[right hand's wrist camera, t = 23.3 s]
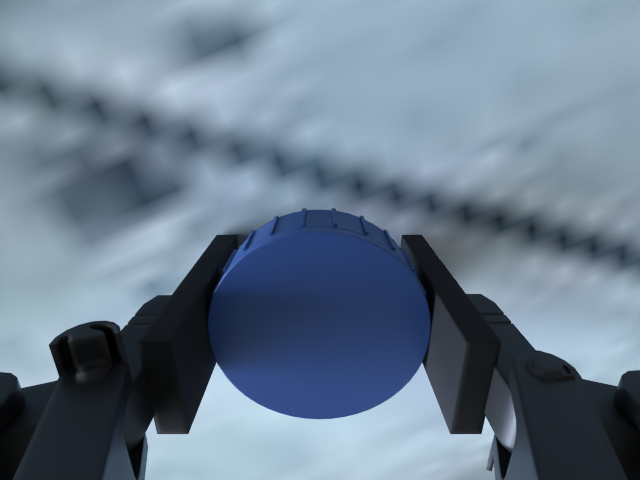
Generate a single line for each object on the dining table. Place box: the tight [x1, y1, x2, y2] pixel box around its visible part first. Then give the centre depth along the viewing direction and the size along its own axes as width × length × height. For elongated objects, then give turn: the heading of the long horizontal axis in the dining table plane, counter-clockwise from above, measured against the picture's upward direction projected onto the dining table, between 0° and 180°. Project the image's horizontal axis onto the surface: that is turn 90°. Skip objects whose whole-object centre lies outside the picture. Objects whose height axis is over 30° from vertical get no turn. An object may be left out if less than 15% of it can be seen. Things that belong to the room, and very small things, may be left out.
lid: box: [207, 208, 431, 419], centre depth 11 cm, size 6×6×2 cm
